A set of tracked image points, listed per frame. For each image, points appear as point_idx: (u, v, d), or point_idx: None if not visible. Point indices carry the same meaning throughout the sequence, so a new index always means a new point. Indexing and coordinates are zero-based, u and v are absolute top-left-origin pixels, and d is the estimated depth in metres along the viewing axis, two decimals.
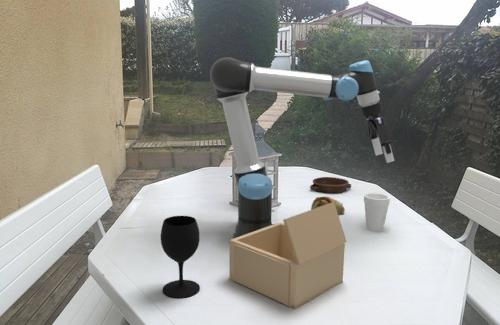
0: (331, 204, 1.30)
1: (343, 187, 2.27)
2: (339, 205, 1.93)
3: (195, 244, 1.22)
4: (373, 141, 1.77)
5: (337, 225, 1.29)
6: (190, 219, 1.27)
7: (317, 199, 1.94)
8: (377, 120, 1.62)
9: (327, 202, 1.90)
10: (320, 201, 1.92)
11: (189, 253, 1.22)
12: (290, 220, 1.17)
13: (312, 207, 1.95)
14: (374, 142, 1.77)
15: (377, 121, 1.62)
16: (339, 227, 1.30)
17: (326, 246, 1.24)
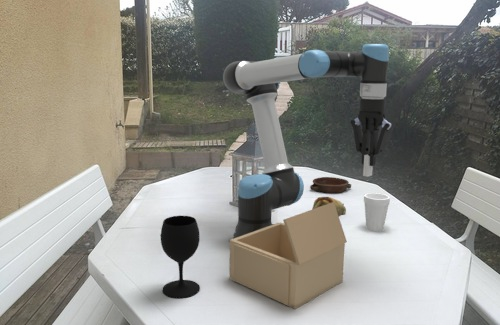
0: (331, 204, 1.30)
1: (343, 187, 2.27)
2: (340, 205, 1.93)
3: (195, 244, 1.22)
4: None
5: (337, 225, 1.29)
6: (190, 219, 1.27)
7: (318, 199, 1.94)
8: None
9: (329, 202, 1.90)
10: (321, 201, 1.92)
11: (189, 253, 1.22)
12: (290, 220, 1.17)
13: (313, 207, 1.95)
14: None
15: None
16: (339, 227, 1.30)
17: (326, 246, 1.24)
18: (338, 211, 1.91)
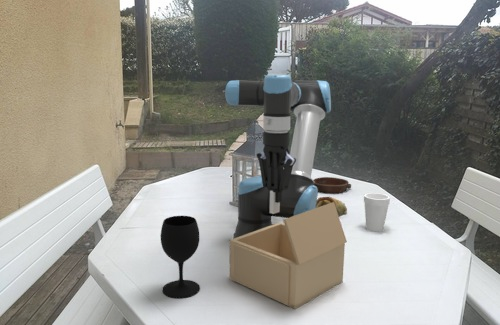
0: (331, 204, 1.30)
1: (343, 187, 2.27)
2: (342, 205, 1.93)
3: (195, 244, 1.22)
4: None
5: (337, 225, 1.29)
6: (190, 219, 1.27)
7: (319, 199, 1.94)
8: None
9: (330, 202, 1.90)
10: (323, 201, 1.92)
11: (189, 253, 1.22)
12: (290, 220, 1.17)
13: None
14: None
15: None
16: (339, 227, 1.30)
17: (326, 246, 1.24)
18: (339, 211, 1.91)
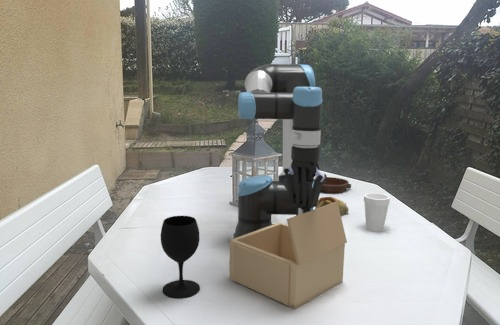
0: (334, 203, 1.29)
1: (343, 187, 2.27)
2: (343, 205, 1.93)
3: (195, 244, 1.22)
4: None
5: (339, 225, 1.29)
6: (190, 219, 1.27)
7: (321, 199, 1.94)
8: None
9: (332, 202, 1.90)
10: (324, 201, 1.92)
11: (189, 253, 1.22)
12: (294, 219, 1.16)
13: (316, 207, 1.95)
14: None
15: None
16: (341, 227, 1.29)
17: (327, 247, 1.24)
18: (341, 211, 1.91)
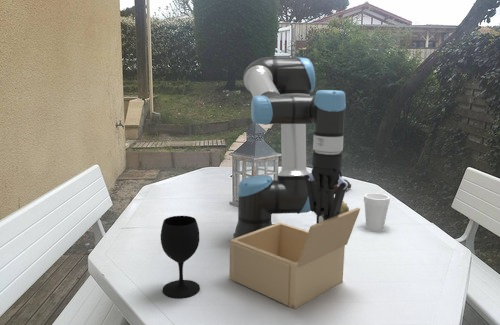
0: (357, 210, 1.25)
1: None
2: (344, 205, 1.93)
3: (195, 244, 1.22)
4: None
5: (349, 230, 1.27)
6: (190, 219, 1.27)
7: None
8: None
9: None
10: None
11: (189, 253, 1.22)
12: (316, 228, 1.12)
13: None
14: None
15: None
16: (350, 231, 1.27)
17: (329, 249, 1.23)
18: (342, 211, 1.91)
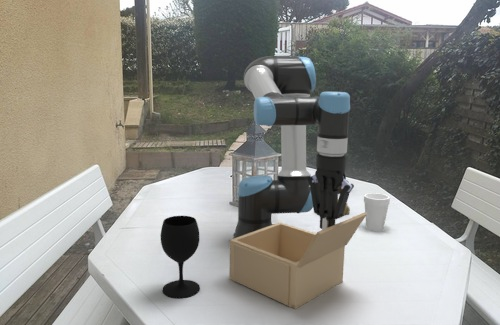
0: (363, 216, 1.23)
1: None
2: None
3: (195, 244, 1.22)
4: None
5: (352, 233, 1.26)
6: (190, 219, 1.27)
7: None
8: None
9: None
10: None
11: (189, 253, 1.22)
12: (323, 234, 1.11)
13: None
14: None
15: None
16: (352, 234, 1.27)
17: (329, 250, 1.23)
18: None
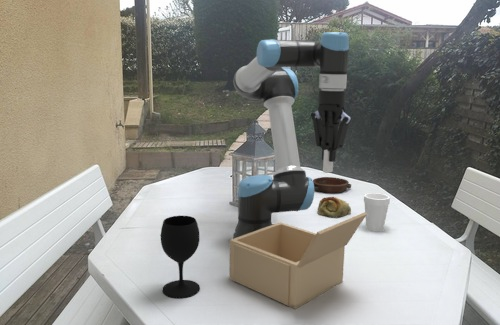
0: (363, 216, 1.23)
1: (343, 187, 2.27)
2: (346, 205, 1.93)
3: (195, 244, 1.22)
4: None
5: (352, 233, 1.26)
6: (190, 219, 1.27)
7: (324, 199, 1.94)
8: None
9: (334, 202, 1.90)
10: (327, 201, 1.92)
11: (189, 253, 1.22)
12: (323, 234, 1.11)
13: (319, 208, 1.95)
14: None
15: None
16: (352, 234, 1.27)
17: (329, 250, 1.23)
18: (344, 211, 1.91)
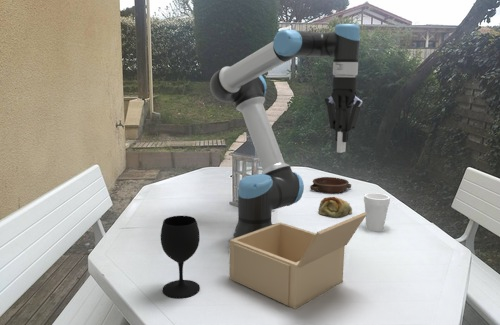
0: (363, 216, 1.23)
1: (343, 187, 2.27)
2: (347, 205, 1.93)
3: (195, 244, 1.22)
4: None
5: (352, 233, 1.26)
6: (190, 219, 1.27)
7: (325, 199, 1.94)
8: None
9: (336, 202, 1.90)
10: (328, 201, 1.91)
11: (189, 253, 1.22)
12: (323, 234, 1.11)
13: (320, 208, 1.95)
14: None
15: None
16: (352, 234, 1.27)
17: (329, 250, 1.23)
18: (345, 211, 1.91)
